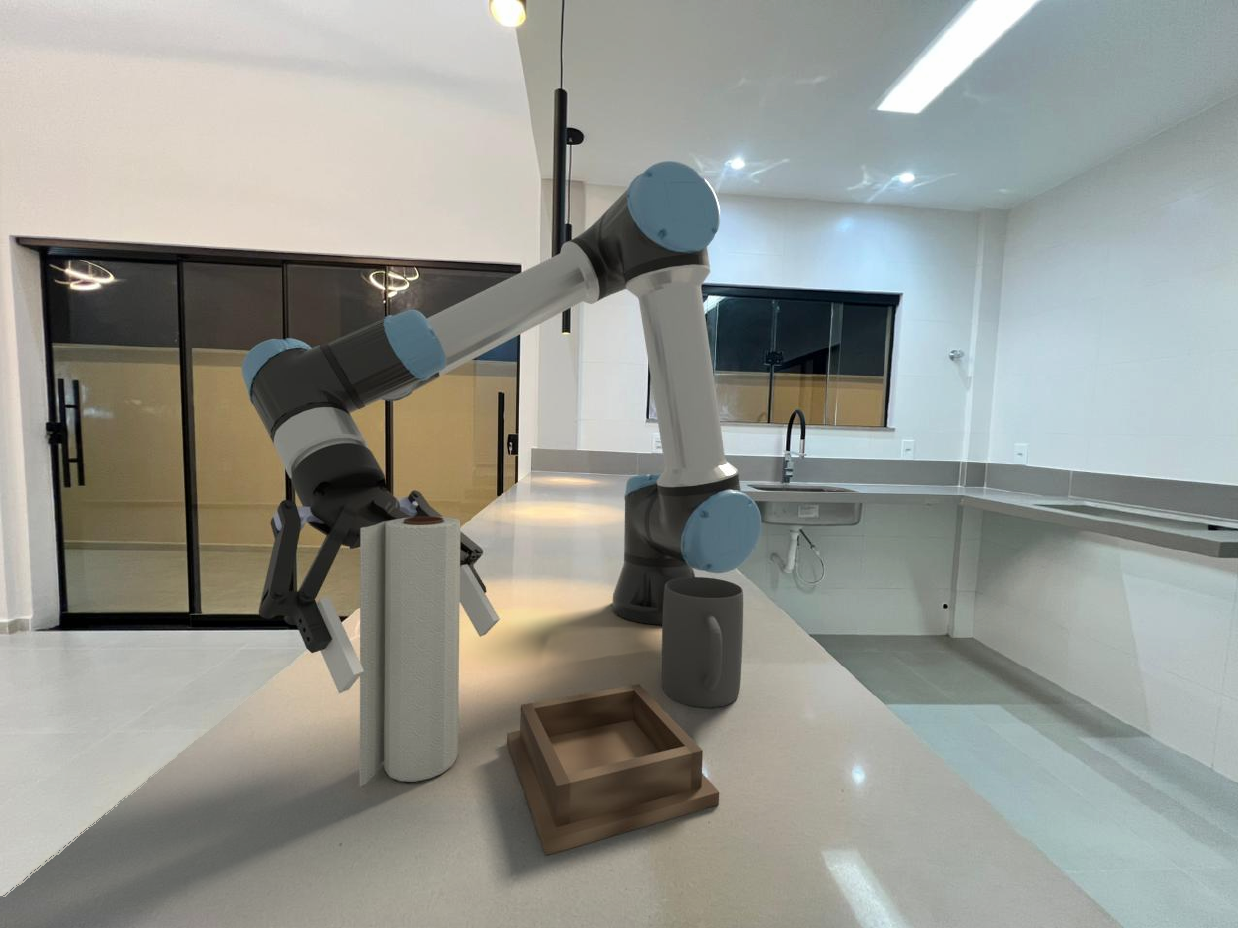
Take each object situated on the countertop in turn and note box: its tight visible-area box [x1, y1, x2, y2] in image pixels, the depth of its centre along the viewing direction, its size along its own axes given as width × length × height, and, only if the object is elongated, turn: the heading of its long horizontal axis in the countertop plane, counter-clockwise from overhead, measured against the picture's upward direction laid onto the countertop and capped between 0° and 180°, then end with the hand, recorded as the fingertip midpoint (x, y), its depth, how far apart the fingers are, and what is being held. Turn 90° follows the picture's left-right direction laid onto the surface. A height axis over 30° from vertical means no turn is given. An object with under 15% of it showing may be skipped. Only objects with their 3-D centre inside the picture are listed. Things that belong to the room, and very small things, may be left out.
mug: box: [661, 576, 744, 709], centre depth 57 cm, size 14×9×12 cm
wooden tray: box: [506, 683, 720, 856], centre depth 44 cm, size 14×14×4 cm
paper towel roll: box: [359, 516, 461, 788], centre depth 45 cm, size 7×6×21 cm
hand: (430, 652), depth 44 cm, fingers open, 13 cm apart
